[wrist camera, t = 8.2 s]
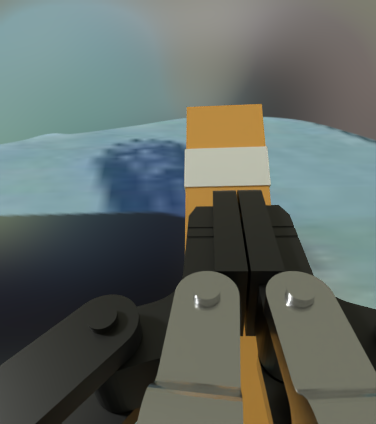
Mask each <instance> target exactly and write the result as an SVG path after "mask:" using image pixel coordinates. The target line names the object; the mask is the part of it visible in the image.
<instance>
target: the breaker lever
mask: <svg viewBox="0 0 376 424" xmlns="http://www.w3.org/2000/svg"><path fill="white" fill-rule="evenodd" d="M270 185H271V182H270V172H269V161H268V150H267V146H265V136H264V125H263V115H262V104H254V105H252V104H251V105H230V106H229V105H227V106H204V107H203V106H202V107H187V142H186V149H185V182H184V187H185V192H186V217H185V221H186V223H185V250H186V239H187V229H188V218H189V215H190V214H191V212H192V211H193V210H194V209H195V207H196V206H213V191H221V190H236V194H237V190H261V191H262V194H263V197H264V200H265V204H266V205H271V201H270V190H269V188H270ZM257 354H258V348H257V341H256V336H246V334H245V326H244V331H243V336H240V370H241V393H242V399H243V424H269V422H268V418H267V413H266V408H265V404H264V399H263V394H262V390H261V385H260V380H259V375H258V371H257Z"/></svg>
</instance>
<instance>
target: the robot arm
mask: <svg viewBox="0 0 376 424" xmlns="http://www.w3.org/2000/svg"><path fill="white" fill-rule="evenodd" d="M244 326H245V334H246V336H256V341H257V348H258V354H257V371H258V375H259V380H260V385H261V390H262V394H263V399H264V404H265V408H266V413H267V418H268V422H269V424H376V309H372V308H368V307H364V306H360V305H356V304H352V303H349V302H346V301H343V300H341V299H339V298H337V297H335V296H334V294H333V292H332V291H331V289H330V288H329V287H328V286H327V285H326V284H325V283H324V282H323V281H321V280H320V279H318V278H317V277H315V276H314V275H313V273H312V270H311V268H310V265H309V263H308V260H307V258H306V255H305V253H304V250H303V248H302V245H301V243H300V240H299V238H298V235H297V232H296V230H295V228H294V225H293V222H292V220H291V217H290V215H289V214H288V213H287V212H286V211H285V210H284V209H283V208H281V207H280V206H279V205H266V204H265V200H264V197H263V194H262V191H261V190H237V194H236V190H221V191H213V206H196V207H195V209H194V210H193V211H192V212H191V214H190V215H189V218H188V229H187V239H186V250H185V261H184V271H183V278H182V281H181V282H180V283H179V284H178V286H177V288H176V290H175V291H174V292H173V293H172V294H170V295H169V296H168V297H166V298H164V299H162V300H159V301H156V302H153V303H149V304H146V305H142V306H138V307H136V306H135V304H134V303H133V302H132V301H131V300H130V299H128V298H126V297H124V296H120V295H105V296H100V297H97V298H95V299H93V300H91V301H89V302H88V303H86V304H84V305H83V306H82V307H81V308H79V309H77V310H76V311H75V312H73V313H72V314H71V315H69V316H68V317H67V318H65V319H64V320H62V321H61V322H60V323H58V324H57V325H56V326H54V327H53V328H51V329H50V330H49V331H47V332H46V333H44V334H43V335H42V336H40V337H39V338H38V339H36V340H35V341H33V342H32V343H31V344H29V345H28V346H27V347H25V348H24V349H23V350H21V351H20V352H18V353H17V354H16V355H14V356H13V357H12V358H10V359H9V360H7V361H6V362H5V363H3V364H2V365H1V366H0V424H135V423H136V421H137V420H138V421H137V424H243V399H242V393H241V370H240V336H243V331H244Z"/></svg>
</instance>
